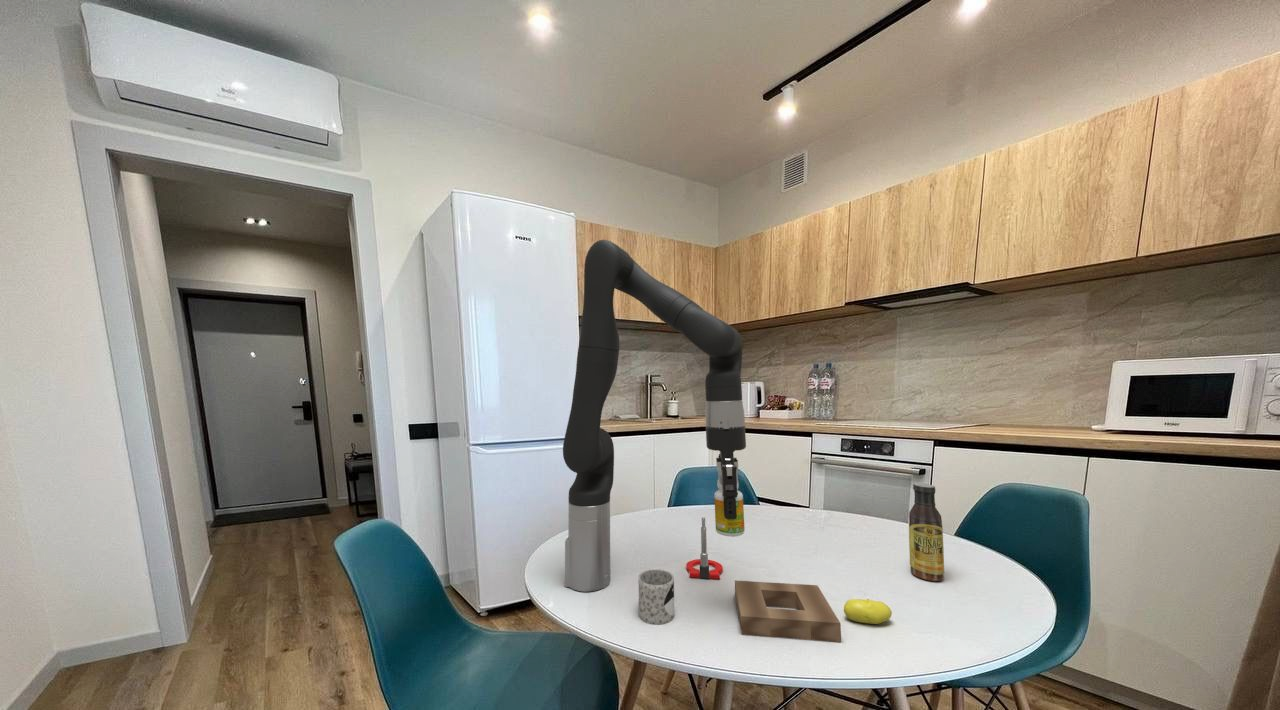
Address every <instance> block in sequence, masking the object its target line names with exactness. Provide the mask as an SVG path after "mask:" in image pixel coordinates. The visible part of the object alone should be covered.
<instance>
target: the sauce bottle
mask: <svg viewBox="0 0 1280 710" xmlns="http://www.w3.org/2000/svg"><path fill="white" fill-rule="evenodd" d="M912 485H913V492H914V504H913V506H912V507H911V509H910V511H909V512H908V513H909V514H908V520H909V521H908V523H909V524H908V542H909V543H908V546H909V548H908V549H909V565H910V572H911V574H912V575H913V576H915V577H917V578H919V579H922V580H924V581H929V582H942V581H943V580H944V574H945V555H944V554H945V551H944V549H945V548H944V530H943V520H942V515H941V513H940V512H939V511H938V509H937V507H936V499H935V498H936V497H935V496H936V495H935V494H936V486H935V485H933V484H929V483H922V482H915V483H913V484H912Z"/></svg>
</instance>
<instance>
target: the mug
mask: <svg viewBox="0 0 1280 710" xmlns="http://www.w3.org/2000/svg"><path fill="white" fill-rule="evenodd" d="M638 618H639V619H640V620H641V621H642V622H644V623H645V624H648V625H652V626H653V625H655V626H662V625H666V624H669V623H670V622H672V621H673V620H674V619H675V577H674V575H673V574H672V573H671V572H670V571H667V570H664V569H660V568H659V569H649V570H645V571H642V572H641V573H640V574H639V575H638Z"/></svg>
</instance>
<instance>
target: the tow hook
mask: <svg viewBox="0 0 1280 710" xmlns="http://www.w3.org/2000/svg"><path fill="white" fill-rule="evenodd" d="M707 540H708V539H707V527H706V517H704V516H703V517H701V527H700V544H701V545H700V546H701V547H700V548H701V552H700V554H699V555H700V556H699V557H700V558H699V559H698V558H697V559H692V560H689V561H687V563H686V564H685V567H686V570H687V572H688V573H689V578H693V579H694V578H696V579H704V580H712V579H713V580H720V577H721V574H722V572H723V571H724V568H723V565H722V564H721V563H720V562H718V561H715V560H711V559H709V554H708V552H707V549H708V548H707V544H708V543H707ZM695 566H699V569H698V568H695ZM710 566H711V567H713V568H714V569H710Z"/></svg>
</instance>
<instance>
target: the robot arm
mask: <svg viewBox="0 0 1280 710" xmlns="http://www.w3.org/2000/svg"><path fill="white" fill-rule="evenodd" d="M583 270H584V271H583V272H584V273H583V275H584V278H583V282H584V283H583V305H582V307H583V308H582V314H581V326H580V335H579V341H578V349H577V357H576V366H575V377H574V384H573V390H572V402H571V407H570V412H569V416H568V421H567V424H566V430H565V434H564V437H563V438H564V439H563V444H562V458H563V460H564V462H565V464H566V467H567V468H568V469H569V470H570V471H572V472H573V473H575V474H576V476H575V479H574V481H573V484H572V485H571V486H570V487H569V489H568V509H567V510H568V512H567V513H568V515H567V516H568V517H567V518H568V526H567V527H568V529H567V530H568V531H567V532H568V534H567V535H568V537H567V538H566V539H565V541H564V587H565V588H567V587H568V588H571V589H572V590H574V591H577V592H583V593H585V592H595V591H598V590H602V589H604V588H605V587H607V586H609V584H610V583H611V571H612V570H611V493H612V489H613V484H614V475H615V474H614V473H615V471H614V470H615V469H614V468H615V446H614V441H613V438H612V436H611V434H609V432H608V431H607V430H606V429H604V428H602V427H601V421H602V412H603V409H604V405H605V402H606V400H607V397H608V395H609V394H610V390H611V388H612V385H614V381H615V379H616V376H617V375H616V374H617V370H618V363H619V357H620V355H619V354H620V337H619V330H618V325H617V322H616V315H615V311H614V309H615V308H614V296H615V290H618V291H620V292H622V293H625V294H627V295H629V296H631V298H632V297H633V298H634V299H635V300H637V301H638V302H640V303H641V304H642V305H643V306H645V307H646V308H647V309H648V310H649V311H650V312H651V313H652V314H653V315H654V316H656V318H658V319H660V321H662V322H663V323H665V324H667V325H668V326H669V327H671V329H673V330H674V331H676V332H677V333H679V334H681V335H683V336H685V338H686V339H687V340H688V341H690V342H691V344H693V345H694V346H696V347H697V348H698V349H699V350H701V352H703V353H705V354H707V355H708V356H709V359H708V360H709V371H708V373H707V374H706V376H705V380H704V381H705V383H704V384H705V385H704V388H705V408H704V409H705V410H704V411H705V412H704V416H705V419H704V420H705V440H706V448H707V449H708V450H710V451H716V452H718V451H719V453H718V457H716V458H715V462H716V469H717V477H718V479H719V483H720V485H722V491H723V492H722V496H723V500H724V517H725V518H726V519H736V518H737V513H736V498H737V495H738V492H737V484H739V476H738V475H739V474H738V469H739V459H737V457H735V455H734V452H735V451H742V450H745V449H747V448H746V447H747V441H746V440H747V439H746V438H747V437H746V423H745V420H746V419H745V410H744V405H743V390H742V380H741V377H742V376H741V373H742V372H741V371H742V363H743V361H742V360H743V341H742V338H741V334H740V332H739V331H738V330H737V329H736V328H734V327H733V326H732V325H729V323H726V322H725V321H724V320H721V319H720V318H718V317H717V316H715V315H713V314H711V313H709V312H708V311H707V310H704V309H703V307H702V306H700V305H699V304H698V303H696V302H695V301H693V300H692V299H690V298H689V297H688V296H686V295H684V294H683V293H681V292H680V291H678V290H676V289H675V288H673V287H671V286H669V285H668V284H665V283H664V282H662V281H659V280H658V279H656V278H654V277H653V276H652V275H651V274H650V273H648V272H647V271H646V270H645V269H644V268H642V266H641V265H639V264H638V263H637V262H636V261H635V260H634V259H633V258H632V257H631V255H630V254H629V253H628V252H627V251H626V250H625V249H623V248H622V247H620V246H619V245H618V244H616V243H614V242H612V241H610V240H608V239H601V240H598V241H595V242H594V243H593V244H592V245H591V246H590V247H589V249H588V251H587V253H586V256H585V259H584V269H583ZM726 485H732V486H733V490H726Z"/></svg>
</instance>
